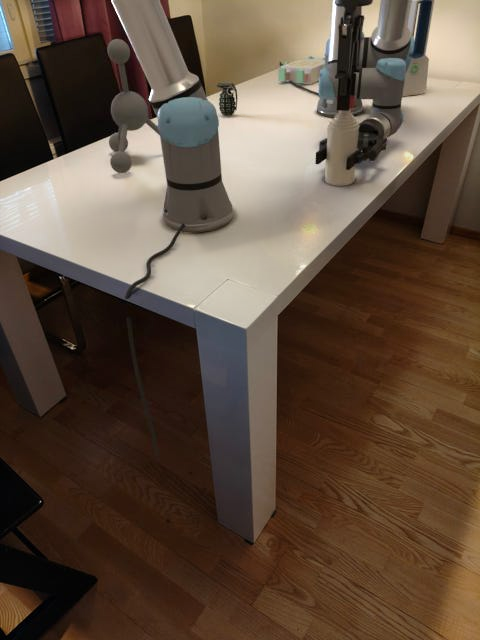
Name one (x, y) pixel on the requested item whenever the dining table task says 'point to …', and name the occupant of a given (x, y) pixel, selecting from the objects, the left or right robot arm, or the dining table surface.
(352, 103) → the cap
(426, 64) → the electronic device
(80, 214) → the dining table surface
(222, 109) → the grenade
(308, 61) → the decorative block
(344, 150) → the bottle
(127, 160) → the molecular model
